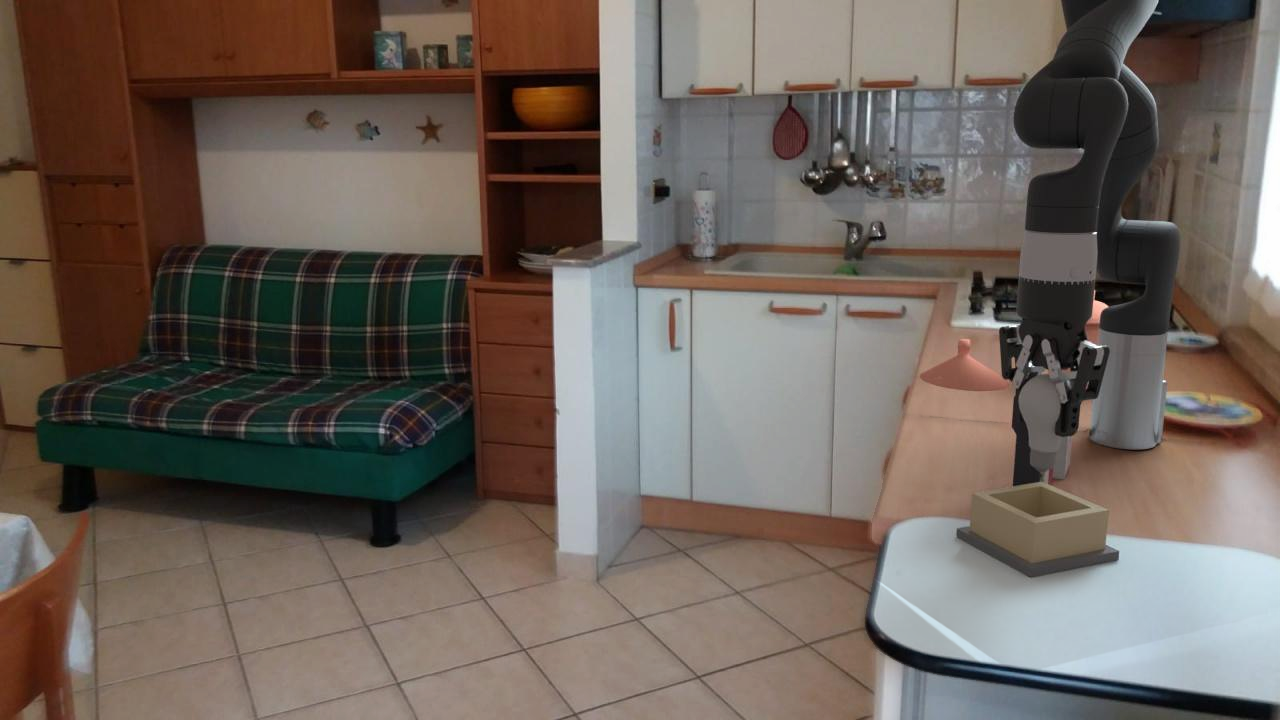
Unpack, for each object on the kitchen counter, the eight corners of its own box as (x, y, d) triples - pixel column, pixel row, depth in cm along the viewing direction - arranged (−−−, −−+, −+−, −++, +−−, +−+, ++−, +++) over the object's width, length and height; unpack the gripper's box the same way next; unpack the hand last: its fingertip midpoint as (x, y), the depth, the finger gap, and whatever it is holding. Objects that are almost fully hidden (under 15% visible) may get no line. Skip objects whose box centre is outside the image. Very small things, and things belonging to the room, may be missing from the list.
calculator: (1042, 522, 122) (1052, 400, 118) (1004, 516, 124) (1013, 396, 120) (1053, 494, 131) (1062, 380, 128) (1018, 489, 133) (1026, 377, 130)
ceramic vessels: (900, 399, 179) (905, 293, 175) (903, 373, 199) (907, 277, 194) (1117, 412, 170) (1128, 300, 165) (1097, 383, 189) (1106, 282, 185)
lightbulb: (1076, 483, 109) (1088, 383, 106) (1016, 478, 110) (1026, 380, 107) (1065, 464, 114) (1076, 369, 112) (1008, 460, 116) (1017, 366, 113)
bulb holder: (1038, 521, 122) (1042, 477, 121) (1118, 559, 111) (1123, 511, 110) (956, 536, 117) (959, 491, 116) (1030, 577, 107) (1034, 527, 105)
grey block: (1035, 475, 138) (1040, 404, 136) (1041, 461, 144) (1046, 393, 142) (1064, 479, 137) (1070, 407, 134) (1069, 465, 142) (1075, 395, 140)
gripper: (1139, 280, 102) (1123, 442, 106) (1036, 264, 115) (1025, 409, 119) (1080, 284, 100) (1066, 450, 103) (982, 268, 113) (972, 415, 116)
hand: (1044, 427), depth 111 cm, fingers closed on lightbulb, 5 cm apart
